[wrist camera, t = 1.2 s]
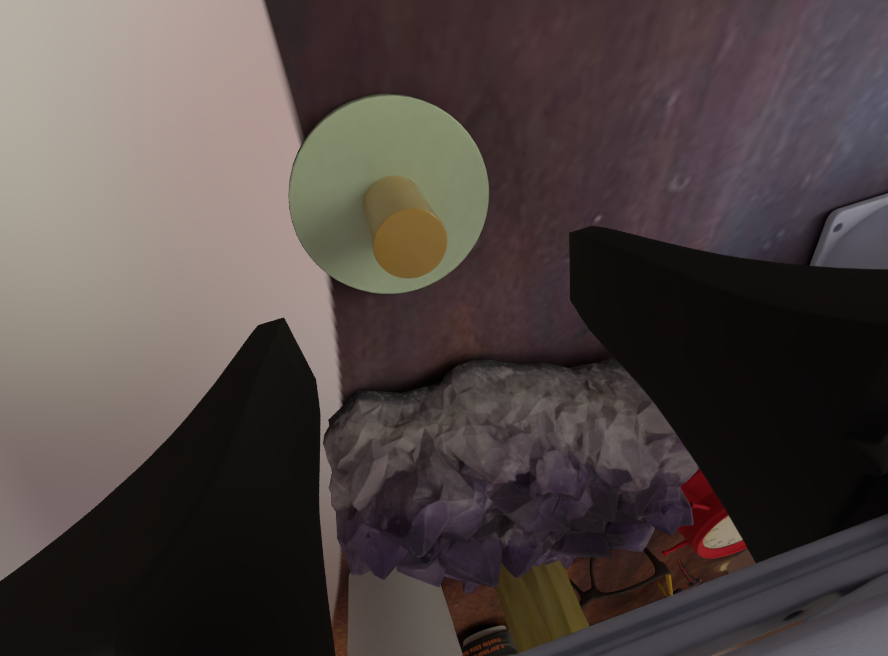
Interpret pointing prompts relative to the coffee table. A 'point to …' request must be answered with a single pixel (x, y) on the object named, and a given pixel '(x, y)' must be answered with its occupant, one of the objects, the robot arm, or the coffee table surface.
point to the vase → (539, 605)
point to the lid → (388, 193)
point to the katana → (689, 576)
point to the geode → (503, 472)
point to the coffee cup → (398, 618)
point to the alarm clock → (707, 522)
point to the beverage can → (490, 643)
